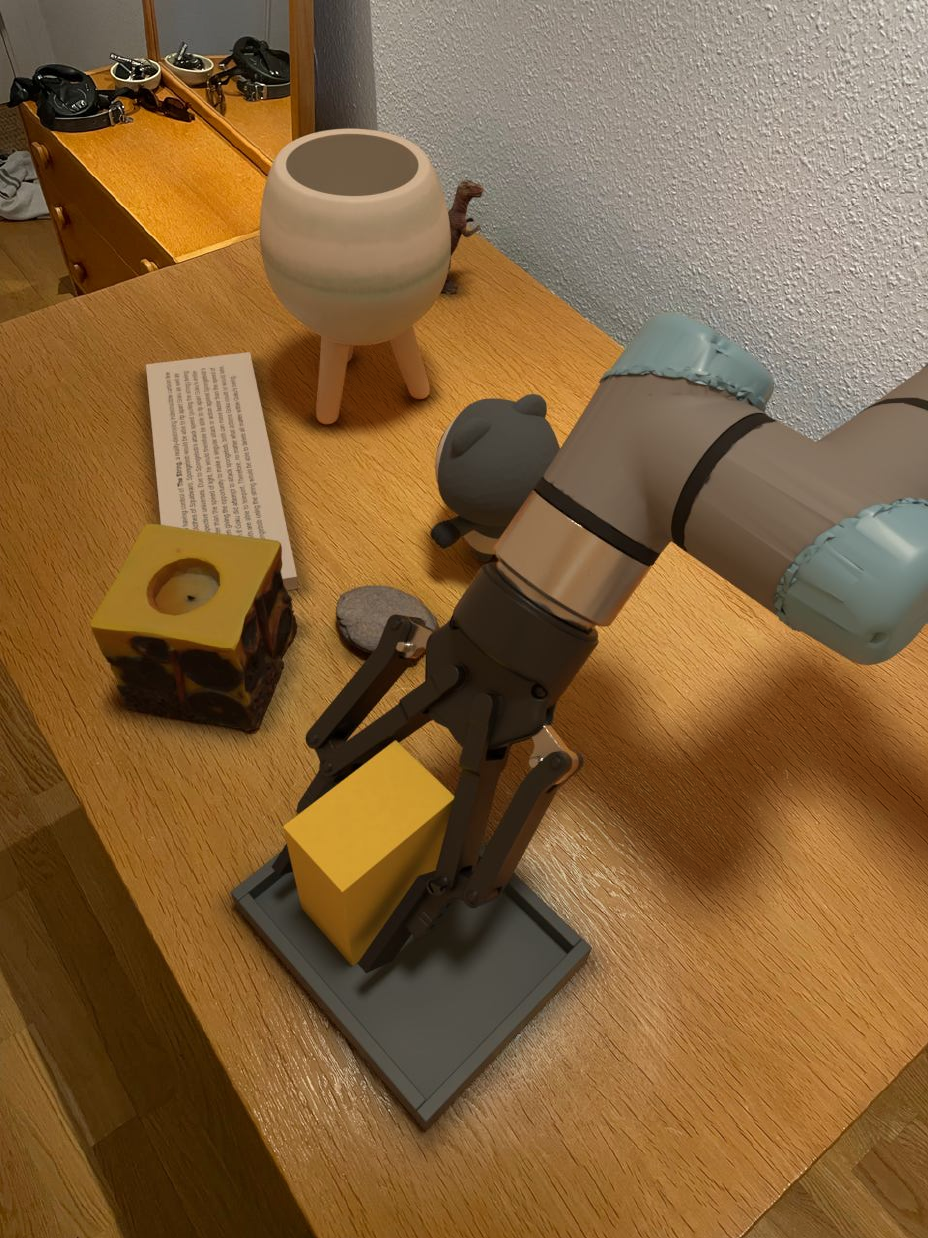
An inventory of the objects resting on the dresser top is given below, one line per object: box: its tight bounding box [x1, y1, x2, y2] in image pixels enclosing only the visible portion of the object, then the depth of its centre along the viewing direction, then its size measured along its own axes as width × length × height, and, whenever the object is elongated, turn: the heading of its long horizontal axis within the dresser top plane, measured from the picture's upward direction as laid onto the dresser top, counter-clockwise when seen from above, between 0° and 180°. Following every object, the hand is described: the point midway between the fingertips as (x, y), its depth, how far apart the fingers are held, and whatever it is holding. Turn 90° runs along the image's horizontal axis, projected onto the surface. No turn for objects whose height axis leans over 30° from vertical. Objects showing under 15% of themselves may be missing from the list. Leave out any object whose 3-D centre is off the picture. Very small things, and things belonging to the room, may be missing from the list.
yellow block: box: [282, 740, 455, 966], centre depth 55 cm, size 5×8×11 cm, turn 134°
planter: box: [259, 128, 451, 425], centre depth 84 cm, size 16×16×22 cm
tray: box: [230, 842, 593, 1132], centre depth 58 cm, size 18×14×2 cm
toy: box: [429, 393, 561, 563], centre depth 74 cm, size 12×10×15 cm
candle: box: [90, 522, 298, 732], centre depth 67 cm, size 10×10×10 cm
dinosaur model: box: [441, 179, 485, 295], centre depth 100 cm, size 4×12×15 cm
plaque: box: [145, 351, 300, 592], centre depth 84 cm, size 30×2×10 cm
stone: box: [335, 584, 440, 660], centre depth 73 cm, size 7×8×2 cm
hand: (331, 913), depth 56 cm, fingers open, 7 cm apart
